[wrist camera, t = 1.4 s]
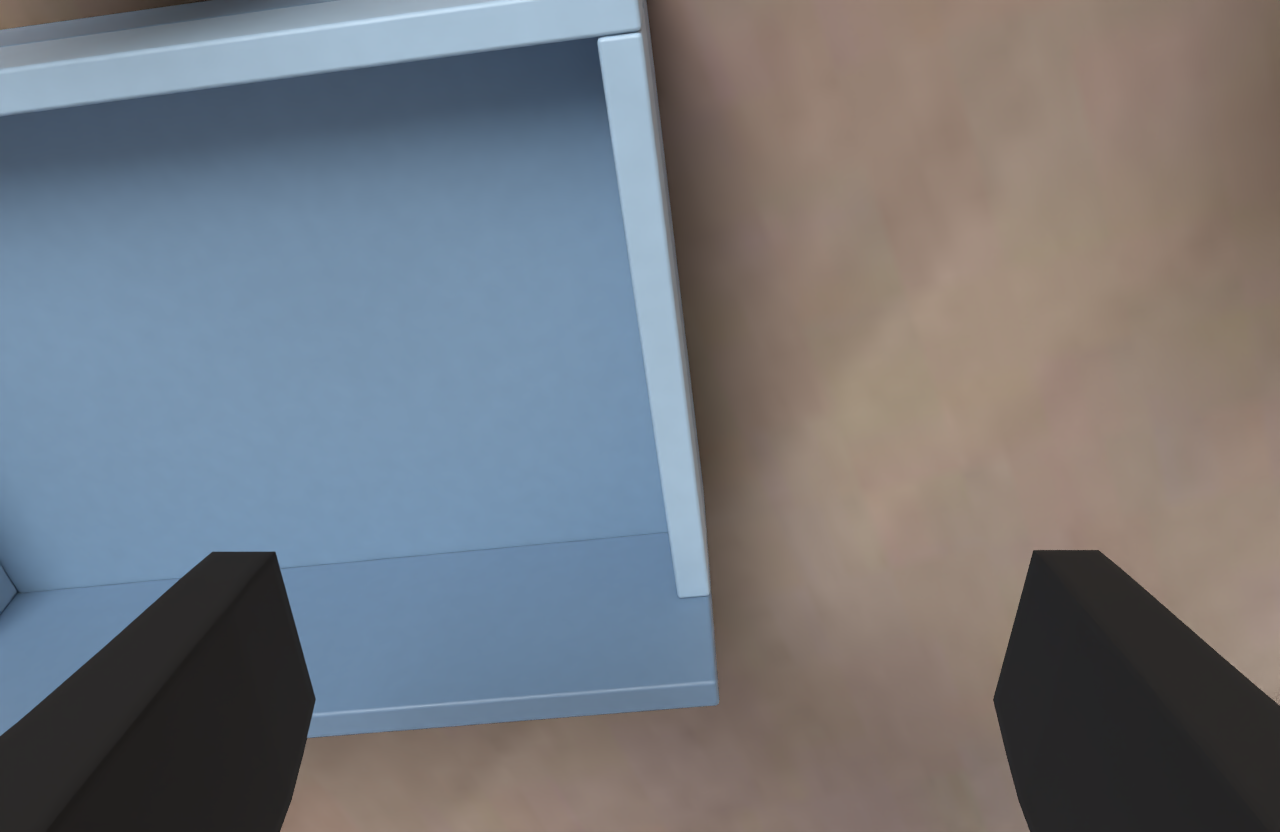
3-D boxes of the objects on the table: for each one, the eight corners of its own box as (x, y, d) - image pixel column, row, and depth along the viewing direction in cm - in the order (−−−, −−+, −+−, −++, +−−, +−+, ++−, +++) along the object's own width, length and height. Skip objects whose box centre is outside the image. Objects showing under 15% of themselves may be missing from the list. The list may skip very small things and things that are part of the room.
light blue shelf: (54, 553, 23) (-118, 773, 18) (-234, 62, 17) (-616, 181, 12) (703, 490, 21) (720, 707, 16) (639, -61, 16) (634, 12, 11)
